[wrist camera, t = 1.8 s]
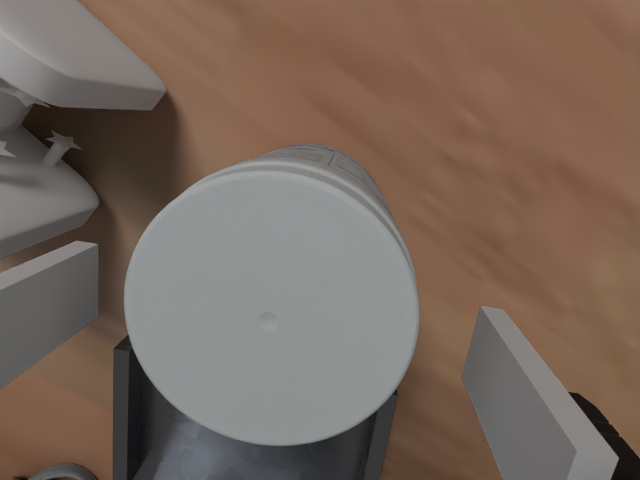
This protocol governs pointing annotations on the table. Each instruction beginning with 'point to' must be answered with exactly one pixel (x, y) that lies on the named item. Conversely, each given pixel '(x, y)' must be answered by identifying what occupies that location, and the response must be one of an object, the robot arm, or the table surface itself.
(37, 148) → the cable organizer
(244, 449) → the motor clip
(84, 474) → the ceramic mug
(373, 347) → the supplement tub
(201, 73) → the table surface
